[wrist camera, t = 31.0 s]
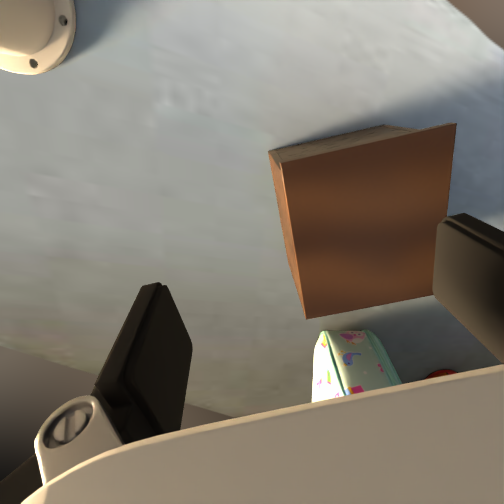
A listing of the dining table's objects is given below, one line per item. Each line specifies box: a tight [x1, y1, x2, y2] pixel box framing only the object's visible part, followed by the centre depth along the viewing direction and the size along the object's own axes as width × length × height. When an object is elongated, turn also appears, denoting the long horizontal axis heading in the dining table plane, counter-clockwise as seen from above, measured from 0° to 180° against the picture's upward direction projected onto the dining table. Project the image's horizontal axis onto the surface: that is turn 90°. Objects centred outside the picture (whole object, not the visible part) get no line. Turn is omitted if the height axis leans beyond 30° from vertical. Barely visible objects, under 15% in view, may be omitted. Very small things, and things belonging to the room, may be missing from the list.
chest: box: [268, 125, 419, 311], centre depth 35 cm, size 17×15×12 cm
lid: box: [280, 123, 457, 319], centre depth 29 cm, size 18×15×1 cm
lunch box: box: [312, 329, 402, 402], centre depth 46 cm, size 27×10×21 cm, turn 4°
